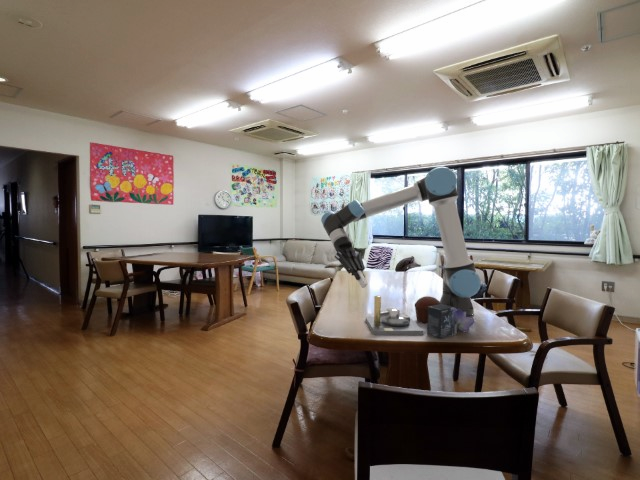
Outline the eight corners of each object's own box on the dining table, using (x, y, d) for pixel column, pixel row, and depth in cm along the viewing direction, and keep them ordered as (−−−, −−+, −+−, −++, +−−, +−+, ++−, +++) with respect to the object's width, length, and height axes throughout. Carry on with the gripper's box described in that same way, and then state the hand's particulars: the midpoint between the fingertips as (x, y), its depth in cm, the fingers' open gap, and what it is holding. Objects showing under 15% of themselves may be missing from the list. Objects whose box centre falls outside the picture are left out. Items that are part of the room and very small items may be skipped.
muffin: (442, 327, 128) (443, 301, 128) (413, 323, 132) (414, 299, 131) (441, 318, 139) (442, 295, 139) (414, 316, 143) (415, 293, 142)
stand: (408, 320, 136) (408, 317, 136) (423, 334, 119) (423, 330, 119) (365, 320, 135) (365, 317, 135) (374, 334, 118) (374, 330, 118)
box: (439, 339, 114) (440, 309, 113) (426, 335, 119) (427, 306, 118) (453, 335, 118) (454, 306, 118) (440, 331, 123) (441, 303, 122)
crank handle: (395, 316, 135) (396, 289, 134) (416, 323, 126) (416, 294, 125) (365, 322, 126) (365, 294, 126) (385, 330, 117) (385, 299, 117)
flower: (468, 320, 115) (465, 302, 123) (444, 326, 119) (443, 308, 127) (479, 339, 117) (476, 320, 125) (455, 344, 121) (454, 325, 130)
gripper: (349, 246, 148) (372, 289, 135) (324, 247, 141) (347, 292, 128) (356, 235, 143) (382, 278, 130) (332, 235, 136) (356, 281, 123)
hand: (364, 285), depth 129 cm, fingers closed
